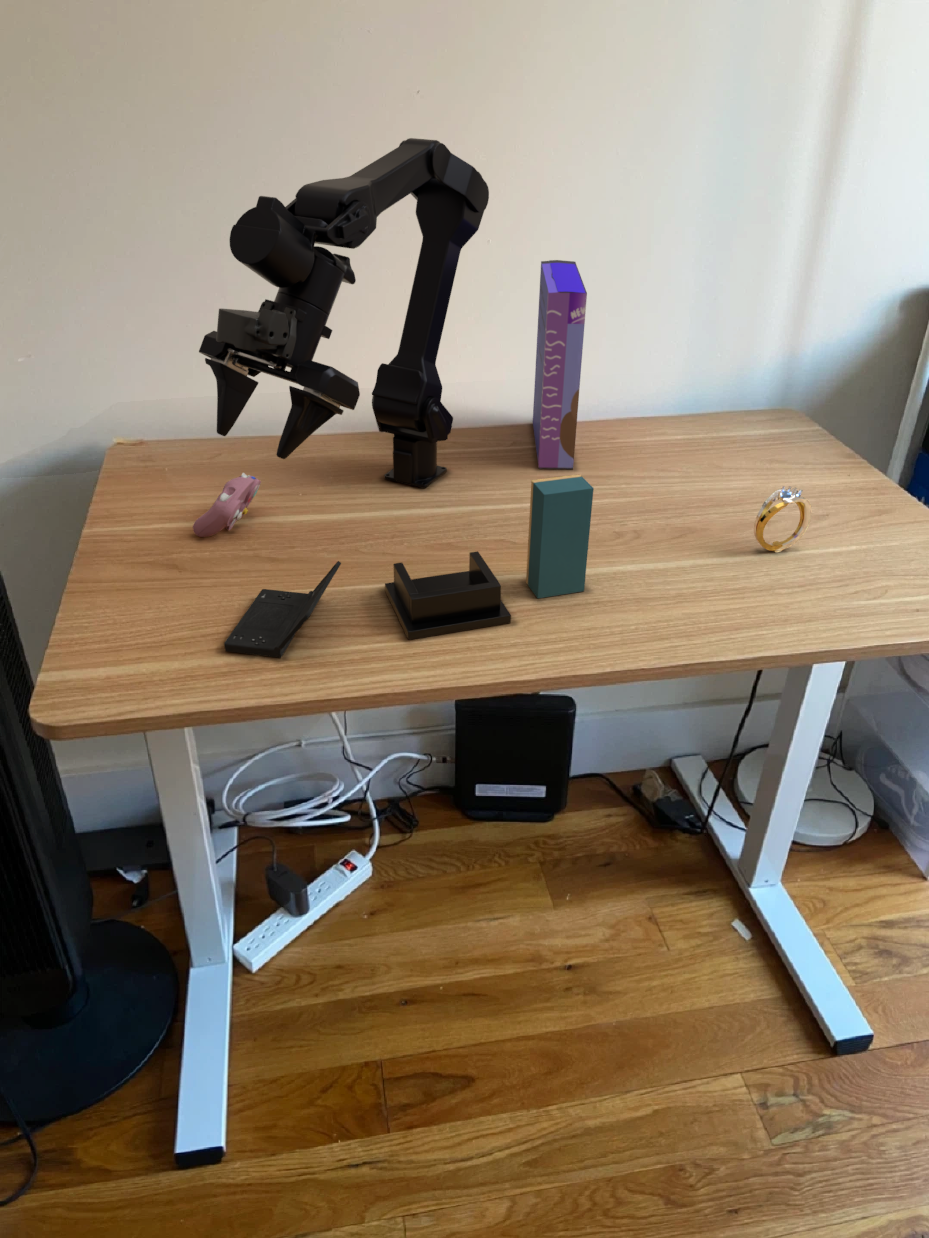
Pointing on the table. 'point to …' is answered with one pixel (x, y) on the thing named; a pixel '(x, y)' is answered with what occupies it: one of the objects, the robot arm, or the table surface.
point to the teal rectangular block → (558, 535)
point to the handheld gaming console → (275, 620)
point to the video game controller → (228, 506)
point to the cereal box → (558, 363)
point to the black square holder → (447, 600)
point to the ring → (766, 515)
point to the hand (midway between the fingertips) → (249, 446)
